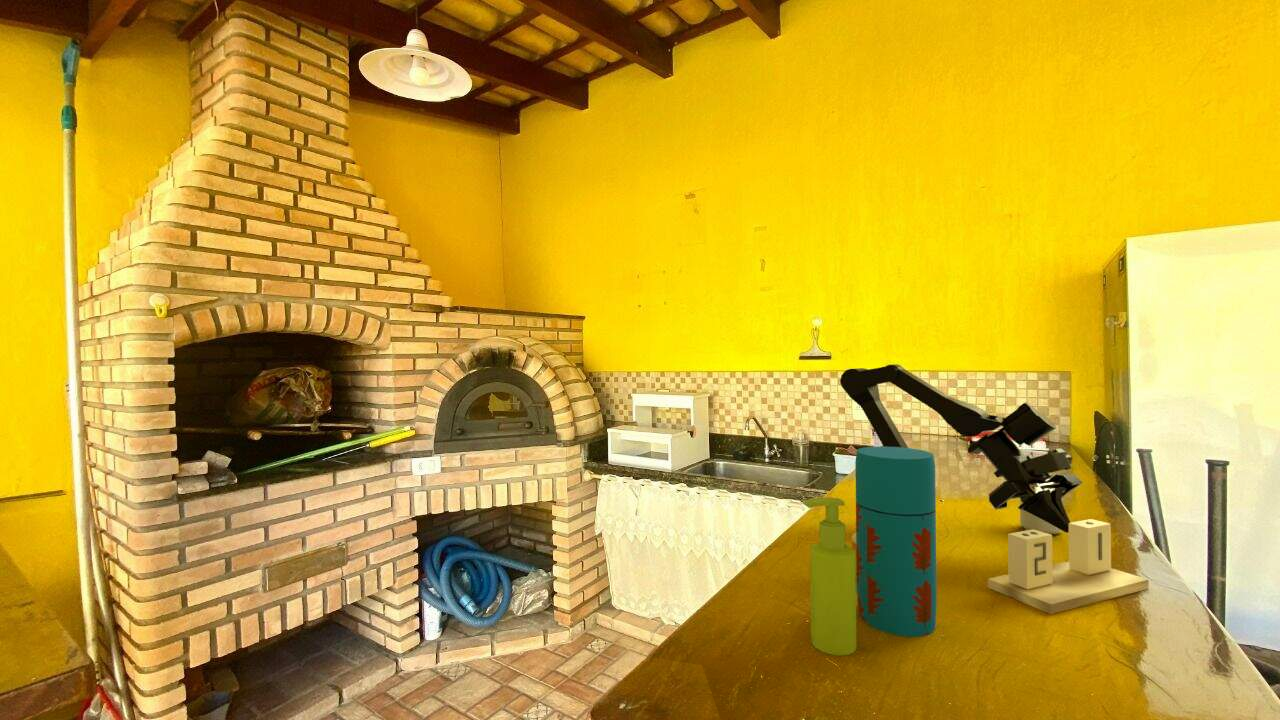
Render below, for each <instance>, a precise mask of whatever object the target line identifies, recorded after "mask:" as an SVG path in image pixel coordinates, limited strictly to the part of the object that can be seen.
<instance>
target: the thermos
mask: <svg viewBox="0 0 1280 720" xmlns="http://www.w3.org/2000/svg"><path fill="white" fill-rule="evenodd" d="M854 465H855V466H854V467H855V470H854V471H855V528H856V529H855V533H856V559H857V578H856V599H857V610H858V611H857V612H858V615H859V617H860V619H861V620H862V621H863V622H865V624H867V625H868V626H869V627H872V628H874V629H877V630H878V631H881V632H884V633H887V634H892V635H895V636H901V637H908V638H909V637H910V638H911V637H922V636H923V635H924V636H927V635H930V634H932V633H933V632H934V631H935V630H936V621H937V603H938V602H937V601H938V600H937V597H938V596H937V515H936V514H937V511H936V510H937V508H936V501H937V500H936V497H937V496H936V494H937V493H936V463H935V456H934V453H932V452H930V451H927V450H923V449H917V448H910V447H908V448H902V447H884V446H868V447H867V446H866V447H861V448H858V449H857V450H856V455H855V464H854ZM926 634H927V635H926Z"/></svg>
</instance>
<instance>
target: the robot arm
mask: <svg viewBox="0 0 1280 720" xmlns="http://www.w3.org/2000/svg"><path fill="white" fill-rule="evenodd" d="M839 382H840V385H841V388H842V389H843V391H844V392H845V393H846V394H847V395H848V396H849V398H850V399H851V400H852V401H854V402H855V403H856V404H857V405H858V406H859V407H860V408H861V409H862V411H863V413H864V414H865V417H866V418H867V420H868V421H869V423H870V425H871V427H872V429H873V430H874V432H875V433H876V435H877V437H878V439H879V441H880V443H881V444H882V447H902V448H909V447H908V445H907V443H906V442H905V440H904V438H903V437H902V435H901V433H900V431H899V430H898V428H897V426H896V424H895V423H894V421H893V419H892V417H891V416H890V414H889V412H888V410H887V408H886V407H885V406H884V404H883V402H882V400H881V397H880V391H879V390H880V389H879V385H882V384H887V383H891V384H892V385H894V386H895V387H897V388H898V389H900V390H902V391H903V392H904V393H907V394H908V395H910V396H911V397H913V398H915V399H916V400H917V401H919V402H921V403H923V404H924V405H925V406H928V407H929V408H931V409H932V411H933V410H934V411H935V412H936V413H937V414H938V415H939V416H940V417H941V418H942V420H943V421H945V423H946V424H947V425H949V426H950V427H951V428H952V429H954V431H955V432H956V433H958V434H960V435H961V436H963V437H967V438H972V437H977V436H979V435H981V434H983V433H985V432H993V431H995V430H997V429H998V430H997V431H995V432H994V433H986V434H984V435H983V436H982V437H980V438H979V439H978V440H969V441H968V442H969V446H968V448H967V453H969V454H971V455H977V456H978V455H980V454H981V453H982V454H983V455H984V457H985V458H986V460H988V461H989V463H991V465H992V466H993V468H994V469H995V471H994V472H993V474H994V476H996V478H1003V479H1004V480H1005V481H1003V482H1002V483H1001V484H1000V485H998V486H997V487H996V488H995V489H993V490H991V492H989V494H988V502H989V503H990V504H991V506H992V508H993V509H994V510H995V511H997V510H1001V509H1003V510H1004V509H1006V508H1008V501H1009V500H1012V499H1019V502H1020V501H1021V502H1022V503H1023V504H1021V505H1020V504H1019V506H1018V507H1017V509H1018V510H1019V511H1020V510H1024V511H1026V512H1028V513H1030V514H1032V515H1034V516H1036V517H1038V518H1040V519H1042V520H1044V521H1046V522H1048V523H1050V524H1051V525H1053V526H1055V527H1057V528H1059V529H1060V530H1061V532H1062V531H1063V532H1064V533H1066V534H1067V533H1068V534H1069V523H1071V521H1070V517H1069V516H1068V514H1067V511H1066V509H1065V507H1064V504H1063V498H1064V497H1065V496H1067V495H1068V494H1070V493H1071V492H1072V491H1074V490H1075V489H1077V488H1078V487H1079V486H1081V485H1082V484H1083V481H1082V480H1081V479H1080V478H1079V477H1078V476H1077V475H1076V474H1075V473H1070V472H1064V473H1059V474H1057V473H1056V472H1059V471H1060V472H1061V471H1064V470H1065V471H1069V470H1071V469H1072V467H1071V464H1072V460H1073V457H1072V456H1071V455H1069V454H1068V453H1067V451H1065V450H1063V448H1055V449H1053V450H1048V452H1047V453H1045V454H1043V455H1039V456H1036V457H1035V455H1032V454H1025V453H1023V451H1022V450H1021V449H1020V448H1019V447H1018V446H1017V445H1016V444H1018V445H1019V446H1021V445H1024V444H1025V445H1027V446H1029V447H1030V446H1033V445H1034V444H1036V443H1037V442H1038V441H1040V440H1041V439H1043V438H1044V437H1046V436H1047V435H1049V434H1050V433H1052V432H1053V431H1055V430H1057V426H1056V425H1055V423H1054V422H1053V421H1052V420H1051V419H1050V418H1049V417H1048V416H1047V415H1046V414H1045V413H1044V412H1041V411H1040V410H1038V409H1037V408H1036V407H1034V406H1032V405H1031V404H1030V403H1028V402H1026V401H1025V402H1023V403H1021V405H1019V407H1017V408H1016V409H1015V410H1014V411H1013V412H1012V413H1010V414H1009V415H1007V416H1005V417H1003V416H1000V415H999V416H998V415H993V414H989V413H988V412H987V411H986V410H985V409H983V408H982V407H979V406H977V405H974V404H971V403H968V402H966V401H963V400H961V399H957V398H954V397H952V396H950V395H948V394H946V393H945V392H943V391H942V390H939V389H938V388H936V387H935V386H933V385H932V384H930V383H928V382H926V380H923V379H922V378H920V377H919V376H917V375H915V374H914V373H912V372H910V371H908V370H907V369H905V368H904V366H902V365H900V364H895V363H893V364H886V365H885V366H881V367H876V368H870V369H867V368H865V367H862V368H861V367H860V368H849V369H846V370H845V371H844V372H843V373H842V374H841V377H840V380H839ZM999 428H1000V429H999ZM1015 443H1016V444H1015ZM1053 473H1056V474H1053ZM1050 477H1052V478H1051V479H1049V478H1050ZM1046 479H1049V480H1048V481H1047V482H1046V481H1045V480H1046ZM1020 499H1021V500H1020ZM1061 499H1062V500H1061Z"/></svg>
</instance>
